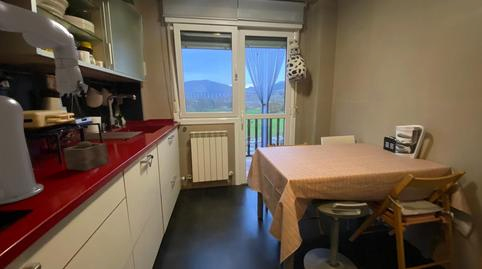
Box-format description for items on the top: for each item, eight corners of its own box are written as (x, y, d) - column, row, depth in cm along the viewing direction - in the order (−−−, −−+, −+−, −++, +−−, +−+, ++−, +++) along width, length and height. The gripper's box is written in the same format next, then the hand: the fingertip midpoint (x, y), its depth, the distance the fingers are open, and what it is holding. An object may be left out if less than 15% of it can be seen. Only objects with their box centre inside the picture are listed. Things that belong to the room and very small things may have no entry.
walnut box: (86, 170, 90) (82, 149, 88) (67, 168, 93) (63, 148, 91) (109, 162, 100) (105, 143, 98) (91, 161, 103) (87, 142, 101)
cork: (98, 162, 100) (93, 139, 98) (93, 166, 94) (88, 142, 92) (82, 164, 98) (78, 141, 96) (77, 168, 92) (72, 144, 90)
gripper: (42, 65, 87) (51, 107, 90) (72, 61, 82) (80, 106, 85) (62, 67, 94) (69, 106, 97) (91, 64, 89) (98, 105, 92)
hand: (74, 106), depth 91 cm, fingers open, 9 cm apart
